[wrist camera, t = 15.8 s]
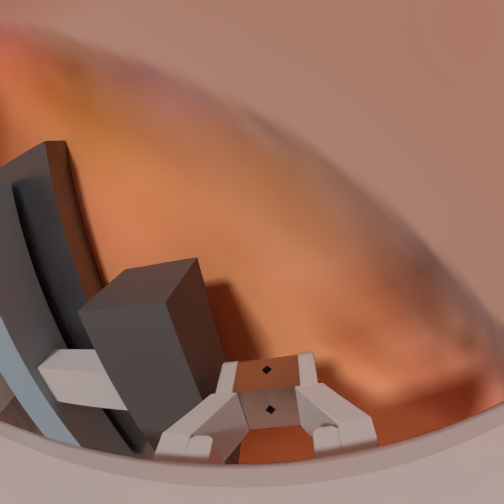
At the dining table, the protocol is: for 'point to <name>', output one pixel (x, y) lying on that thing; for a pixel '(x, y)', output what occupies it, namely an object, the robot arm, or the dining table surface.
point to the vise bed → (59, 263)
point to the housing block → (5, 393)
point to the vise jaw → (107, 348)
